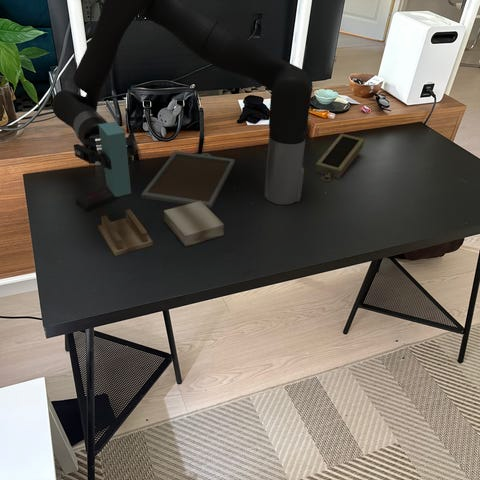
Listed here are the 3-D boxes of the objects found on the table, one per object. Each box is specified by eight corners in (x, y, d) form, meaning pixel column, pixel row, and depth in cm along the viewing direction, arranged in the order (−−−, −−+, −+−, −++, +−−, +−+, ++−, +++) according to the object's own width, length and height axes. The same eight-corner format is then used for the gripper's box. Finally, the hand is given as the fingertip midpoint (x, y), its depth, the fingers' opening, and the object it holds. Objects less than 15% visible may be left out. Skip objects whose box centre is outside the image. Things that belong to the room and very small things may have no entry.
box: (363, 151, 152) (365, 138, 149) (336, 191, 139) (337, 177, 135) (338, 145, 156) (339, 132, 152) (309, 184, 142) (310, 170, 139)
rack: (134, 219, 119) (133, 207, 117) (153, 244, 111) (152, 232, 109) (98, 228, 115) (96, 216, 113) (115, 256, 107) (113, 243, 105)
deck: (200, 210, 123) (200, 200, 121) (223, 234, 115) (223, 224, 113) (164, 220, 119) (163, 210, 117) (185, 246, 111) (185, 235, 109)
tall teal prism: (121, 180, 108) (114, 121, 100) (131, 193, 104) (125, 132, 96) (106, 184, 107) (98, 124, 98) (115, 196, 102) (107, 135, 94)
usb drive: (76, 205, 124) (74, 196, 122) (116, 189, 131) (115, 180, 129) (87, 213, 121) (85, 204, 119) (127, 197, 128) (126, 188, 126)
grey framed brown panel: (140, 194, 127) (177, 147, 151) (141, 199, 128) (177, 152, 151) (211, 205, 124) (237, 155, 148) (211, 210, 125) (236, 160, 149)
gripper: (60, 121, 105) (82, 153, 94) (122, 111, 111) (151, 140, 100) (65, 152, 110) (88, 186, 98) (125, 141, 116) (153, 172, 104)
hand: (119, 163), depth 99 cm, fingers closed on tall teal prism, 3 cm apart
